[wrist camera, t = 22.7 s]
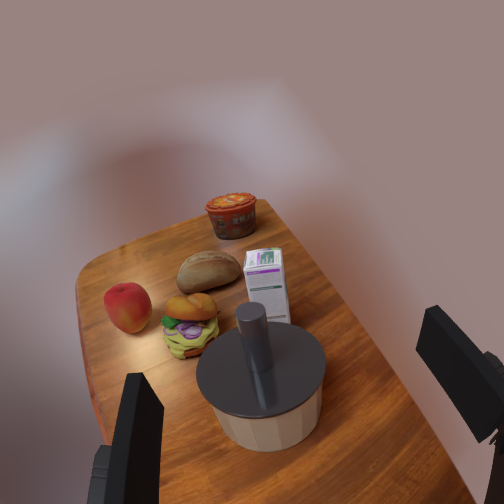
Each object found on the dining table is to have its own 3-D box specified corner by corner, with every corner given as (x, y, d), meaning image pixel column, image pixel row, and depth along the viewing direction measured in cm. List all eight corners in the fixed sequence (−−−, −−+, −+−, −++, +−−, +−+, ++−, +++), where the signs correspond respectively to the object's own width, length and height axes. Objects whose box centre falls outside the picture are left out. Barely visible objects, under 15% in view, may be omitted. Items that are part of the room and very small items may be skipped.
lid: (336, 334, 35) (338, 276, 31) (305, 436, 23) (304, 384, 19) (231, 320, 40) (218, 267, 37) (175, 399, 29) (146, 345, 25)
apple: (159, 336, 52) (141, 293, 48) (114, 347, 50) (93, 306, 46) (157, 309, 61) (143, 269, 56) (118, 319, 59) (101, 280, 55)
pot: (330, 380, 38) (332, 333, 34) (303, 462, 27) (302, 428, 23) (243, 365, 44) (232, 320, 40) (202, 434, 33) (179, 394, 29)
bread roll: (248, 286, 64) (242, 253, 61) (182, 305, 61) (171, 273, 58) (236, 267, 73) (231, 237, 69) (177, 284, 69) (169, 254, 66)
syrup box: (292, 339, 47) (284, 263, 41) (256, 342, 48) (242, 267, 42) (290, 317, 53) (282, 245, 46) (257, 320, 53) (245, 250, 47)
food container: (201, 237, 94) (193, 206, 89) (233, 220, 104) (228, 191, 100) (238, 245, 84) (231, 210, 79) (270, 225, 95) (266, 193, 90)
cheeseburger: (154, 353, 48) (142, 302, 46) (188, 329, 57) (181, 282, 55) (200, 368, 44) (191, 312, 41) (232, 338, 53) (227, 288, 51)
